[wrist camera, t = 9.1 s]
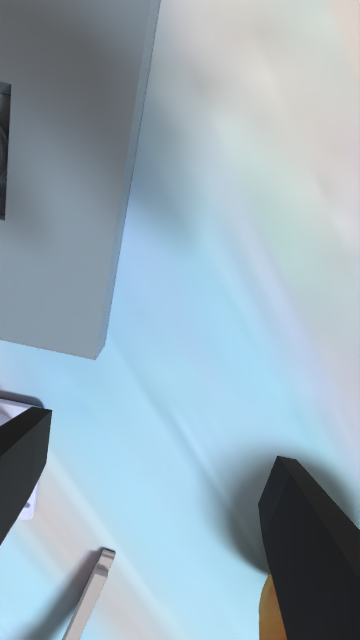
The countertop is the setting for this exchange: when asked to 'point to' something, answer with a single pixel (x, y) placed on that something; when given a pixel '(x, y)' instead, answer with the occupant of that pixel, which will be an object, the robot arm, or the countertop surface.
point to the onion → (270, 614)
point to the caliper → (89, 596)
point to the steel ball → (3, 153)
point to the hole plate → (68, 162)
